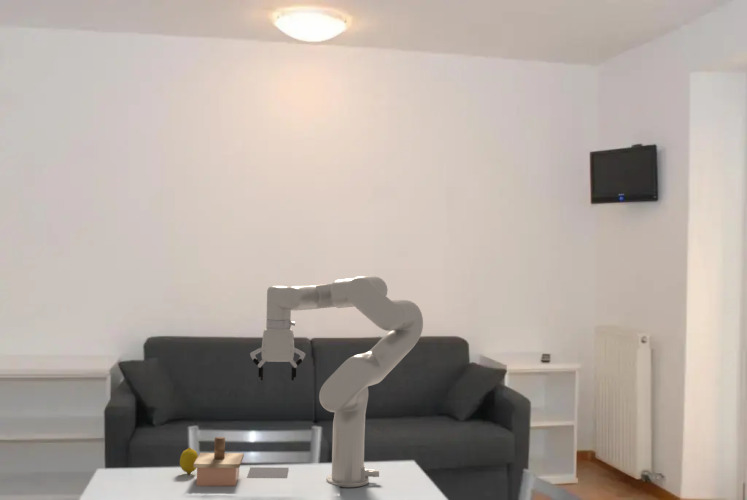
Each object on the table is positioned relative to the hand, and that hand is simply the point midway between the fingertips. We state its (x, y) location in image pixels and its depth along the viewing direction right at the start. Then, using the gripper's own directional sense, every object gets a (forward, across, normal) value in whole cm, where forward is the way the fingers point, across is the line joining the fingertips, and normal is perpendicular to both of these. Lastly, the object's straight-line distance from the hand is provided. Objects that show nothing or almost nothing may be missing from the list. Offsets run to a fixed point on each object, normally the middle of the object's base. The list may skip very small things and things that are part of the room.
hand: (277, 379), depth 250 cm
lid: (+22, +16, +14) cm, 31 cm away
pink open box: (+28, +16, +14) cm, 35 cm away
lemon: (+28, +26, +5) cm, 39 cm away
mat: (+28, +2, +6) cm, 29 cm away
